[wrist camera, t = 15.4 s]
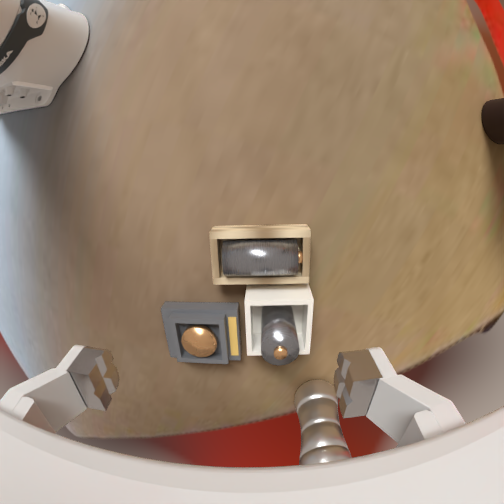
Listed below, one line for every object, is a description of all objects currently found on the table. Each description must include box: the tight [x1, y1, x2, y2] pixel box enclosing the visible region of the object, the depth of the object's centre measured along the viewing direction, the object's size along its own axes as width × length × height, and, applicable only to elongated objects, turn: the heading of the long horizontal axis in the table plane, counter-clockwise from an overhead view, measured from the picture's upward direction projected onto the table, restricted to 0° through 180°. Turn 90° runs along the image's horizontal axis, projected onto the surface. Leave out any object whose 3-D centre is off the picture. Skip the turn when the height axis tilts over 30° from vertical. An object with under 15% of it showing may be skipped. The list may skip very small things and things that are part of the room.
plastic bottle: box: [294, 379, 351, 465], centre depth 32 cm, size 6×7×20 cm
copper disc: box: [181, 325, 217, 357], centre depth 36 cm, size 5×5×1 cm
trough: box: [209, 224, 311, 285], centre depth 34 cm, size 11×6×3 cm, turn 92°
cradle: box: [161, 302, 242, 364], centre depth 37 cm, size 10×8×4 cm
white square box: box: [245, 283, 314, 355], centre depth 35 cm, size 8×8×5 cm
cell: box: [261, 305, 300, 365], centre depth 32 cm, size 4×4×9 cm
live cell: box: [222, 239, 303, 276], centre depth 32 cm, size 9×4×4 cm, turn 92°
